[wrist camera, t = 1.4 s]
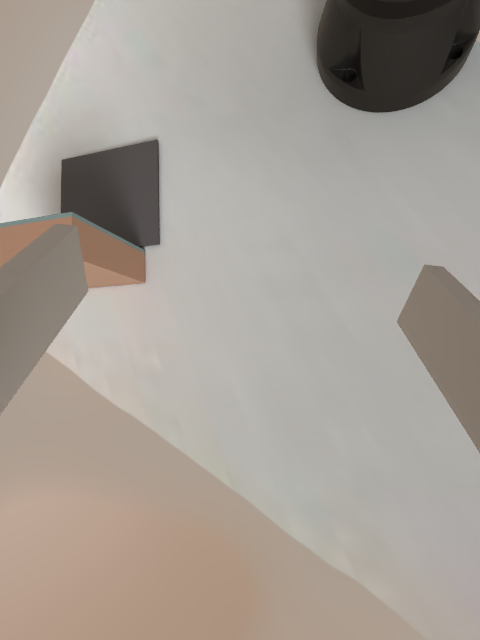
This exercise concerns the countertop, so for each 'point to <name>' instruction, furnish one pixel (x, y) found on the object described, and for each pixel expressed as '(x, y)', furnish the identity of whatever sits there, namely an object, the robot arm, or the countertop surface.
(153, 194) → the mat
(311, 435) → the countertop surface
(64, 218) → the tile
